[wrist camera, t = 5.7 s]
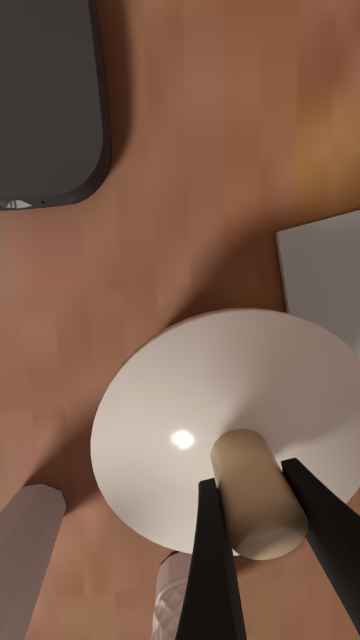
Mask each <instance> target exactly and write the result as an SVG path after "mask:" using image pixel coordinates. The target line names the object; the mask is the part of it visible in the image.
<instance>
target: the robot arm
mask: <svg viewBox="0 0 360 640" xmlns="http://www.w3.org/2000/svg"><path fill="white" fill-rule="evenodd" d="M281 466H282V471H283V474H284V475H285V477H286V479H287V481H288V483H289V485H290V486H291V488H292V490H293V492H294V494H295V496H296V497H297V499H298V501H299V503H300V505H301V507H302V508H303V510H304V512H305V514H306V516H307V519H308V530H307V533H306V536H305V537H306V539H307V540H308V542H309V544H310V546H311V548H312V549H313V551H314V553H315V555H316V557H317V559H318V560H319V562H320V564H321V566H322V568H323V569H324V571H325V573H326V575H327V577H328V578H329V580H330V582H331V584H332V586H333V587H334V589H335V591H336V593H337V595H338V596H339V598H340V600H341V602H342V604H343V605H344V607H345V609H346V611H347V612H348V614H349V616H350V618H351V620H352V622H353V624H354V626H355V628H356V629H357V631H358V633H359V635H360V516H359V515H358V514H357V513H356V512H354V511H353V510H352V509H351V508H350V507H349V506H348V505H346V504H345V503H344V502H343V501H342V500H341V499H339V498H338V497H337V496H336V495H335V494H334V493H333V492H332V491H331V490H329V489H328V488H327V487H326V486H325V485H324V484H323V483H322V482H321V481H320V480H319V479H318V478H317V477H316V476H314V475H313V474H312V473H311V472H310V471H309V470H308V469H307V468H306V467H305V466H304V465H303V464H302V463H301V462H300V461H299V460H298V459H297V458H291V459H287V460H283V461H281ZM175 640H247V638H246V631H245V625H244V619H243V613H242V606H241V600H240V594H239V587H238V581H237V575H236V569H235V562H234V556H233V550H232V547H231V546H230V544H229V541H228V537H227V532H226V528H225V522H224V517H223V512H222V507H221V503H220V498H219V494H218V489H217V485H216V482H215V478H211V479H207V480H203V481H200V482H199V484H198V511H197V522H196V530H195V538H194V545H193V552H192V558H191V564H190V570H189V575H188V581H187V587H186V592H185V597H184V601H183V606H182V611H181V615H180V620H179V624H178V629H177V633H176V637H175Z"/></svg>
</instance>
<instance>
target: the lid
mask: <svg viewBox="0 0 360 640" xmlns="http://www.w3.org/2000/svg"><path fill="white" fill-rule="evenodd" d="M291 458H297V459H298V460H299V461H300V462H301V463H302V464H303V465H304V466H305V467H306V468H307V469H308V470H309V471H310V472H311V473H312V474H313V475H314V476H316V477H317V478H318V479H319V480H320V481H321V482H322V483H323V484H324V485H325V486H326V487H327V488H328V489H329V490H331V491H332V492H333V493H334V494H335V495H336V496H337V497H338V498H339V499H341V500H342V501H343V502H344V503H345V504H346V503H347V502H348V501H349V499H350V498H351V497H352V496H353V495H354V494H355V493H356V491H357V490H358V488H359V487H360V357H359V356H358V355H357V354H356V353H355V352H354V351H353V350H352V349H351V348H350V346H348V345H347V344H346V343H345V342H343V341H342V340H341V339H340V338H338V337H337V336H336V335H334V334H333V333H331V332H329V331H327V330H326V329H324V328H322V327H320V326H318V325H316V324H314V323H312V322H309V321H307V320H304V319H302V318H299V317H296V316H294V315H291V314H288V313H284V312H280V311H275V310H271V309H262V308H250V307H246V308H227V309H221V310H216V311H210V312H206V313H202V314H199V315H196V316H193V317H190V318H187V319H185V320H182V321H180V322H178V323H176V324H174V325H171V326H169V327H167V328H166V329H164V330H163V331H161V332H159V333H158V334H156V335H155V336H153V337H151V338H150V339H149V340H148V341H146V342H145V343H144V344H143V345H141V346H140V347H139V348H138V349H137V350H135V352H134V353H133V354H132V355H131V356H130V357H129V358H128V359H127V360H126V361H125V362H124V363H123V364H122V366H121V367H120V369H119V370H118V372H117V373H116V374H115V376H114V377H113V379H112V380H111V382H110V384H109V386H108V388H107V390H106V392H105V394H104V396H103V398H102V401H101V403H100V405H99V407H98V410H97V413H96V416H95V419H94V423H93V429H92V435H91V460H92V466H93V472H94V475H95V478H96V481H97V484H98V487H99V489H100V491H101V493H102V494H103V496H104V498H105V500H106V502H107V503H108V504H109V506H110V507H111V508H112V510H113V511H114V512H115V513H116V514H117V516H118V517H119V518H120V519H121V520H122V521H123V522H124V523H125V524H127V525H128V526H129V527H131V528H132V529H133V530H134V531H136V532H137V533H139V534H140V535H142V536H144V537H145V538H147V539H149V540H150V541H153V542H155V543H157V544H159V545H162V546H164V547H167V548H170V549H173V550H176V551H180V552H184V553H189V554H192V552H193V545H194V538H195V530H196V522H197V511H198V484H199V482H200V481H203V480H207V479H211V478H215V482H216V485H217V489H218V494H219V498H220V503H221V507H222V512H223V517H224V522H225V528H226V532H227V537H228V541H229V544H230V546H231V547H232V550H233V556H237V555H241V556H243V557H246V558H249V559H254V560H268V559H273V558H277V557H280V556H283V555H285V554H287V553H289V552H290V551H292V550H293V549H295V548H296V547H297V546H298V545H299V544H300V543H301V542H302V541H303V539H304V538H305V536H306V533H307V530H308V519H307V516H306V514H305V512H304V510H303V508H302V507H301V505H300V503H299V501H298V499H297V497H296V496H295V494H294V492H293V490H292V488H291V486H290V485H289V483H288V481H287V479H286V477H285V475H284V474H283V471H282V466H281V461H283V460H287V459H291Z"/></svg>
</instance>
